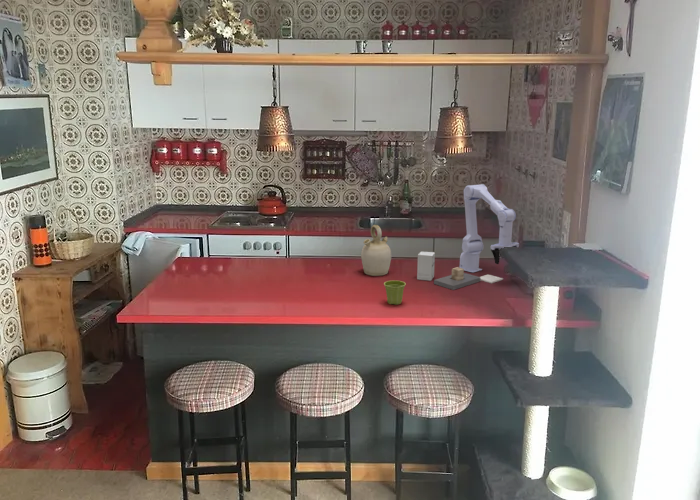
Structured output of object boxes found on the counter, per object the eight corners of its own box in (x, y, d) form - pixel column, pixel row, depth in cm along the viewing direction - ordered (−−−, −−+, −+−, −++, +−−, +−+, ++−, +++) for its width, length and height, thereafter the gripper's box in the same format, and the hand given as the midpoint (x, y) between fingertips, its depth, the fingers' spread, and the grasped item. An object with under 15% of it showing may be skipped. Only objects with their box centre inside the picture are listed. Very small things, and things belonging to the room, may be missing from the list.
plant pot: (379, 301, 258) (379, 282, 256) (397, 297, 263) (397, 279, 260) (391, 307, 250) (391, 288, 248) (409, 303, 255) (410, 284, 253)
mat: (476, 279, 288) (476, 277, 288) (487, 275, 294) (488, 274, 294) (491, 283, 282) (491, 282, 282) (503, 279, 287) (503, 278, 287)
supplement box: (431, 281, 286) (432, 255, 283) (416, 279, 288) (417, 254, 285) (434, 276, 293) (435, 252, 289) (419, 275, 295) (420, 251, 292)
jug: (365, 278, 291) (365, 228, 285) (357, 269, 306) (357, 222, 299) (395, 275, 294) (395, 227, 288) (386, 267, 309) (386, 220, 303)
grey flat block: (433, 283, 281) (434, 279, 281) (460, 275, 294) (461, 271, 293) (453, 290, 272) (453, 285, 272) (480, 281, 285) (480, 277, 284)
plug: (451, 282, 283) (451, 268, 282) (456, 280, 286) (457, 267, 284) (457, 284, 280) (458, 270, 279) (463, 282, 283) (463, 268, 281)
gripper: (497, 238, 271) (495, 266, 274) (523, 235, 276) (521, 263, 279) (488, 235, 277) (487, 262, 281) (514, 232, 282) (512, 259, 286)
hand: (503, 262), depth 280 cm, fingers open, 7 cm apart
